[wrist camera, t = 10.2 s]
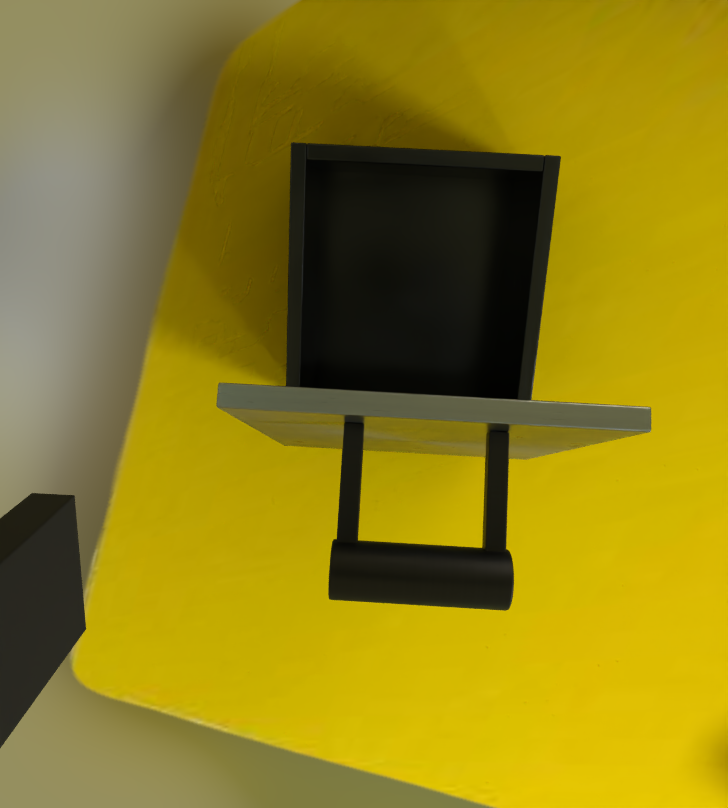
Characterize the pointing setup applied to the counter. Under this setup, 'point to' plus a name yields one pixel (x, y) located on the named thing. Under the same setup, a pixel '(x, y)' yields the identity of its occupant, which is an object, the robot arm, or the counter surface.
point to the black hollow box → (417, 269)
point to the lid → (428, 434)
